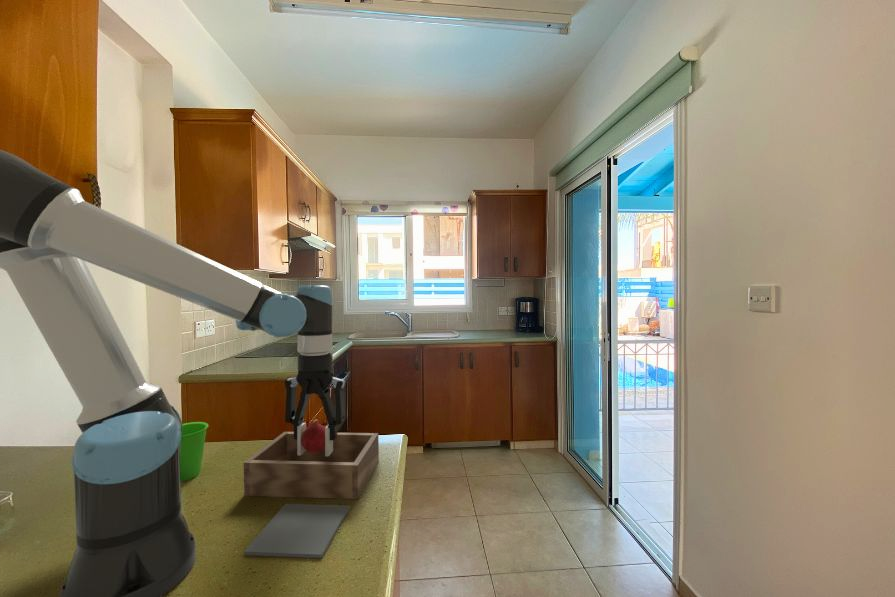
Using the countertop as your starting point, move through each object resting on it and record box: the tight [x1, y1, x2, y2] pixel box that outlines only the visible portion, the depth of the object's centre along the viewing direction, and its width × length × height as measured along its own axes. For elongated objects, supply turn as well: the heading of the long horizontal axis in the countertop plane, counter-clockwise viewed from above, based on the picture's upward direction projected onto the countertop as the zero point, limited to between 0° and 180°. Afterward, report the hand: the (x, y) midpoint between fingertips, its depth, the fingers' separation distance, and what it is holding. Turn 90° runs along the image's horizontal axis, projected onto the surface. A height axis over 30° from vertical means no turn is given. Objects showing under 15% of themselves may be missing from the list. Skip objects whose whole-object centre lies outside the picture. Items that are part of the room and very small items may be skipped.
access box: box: [243, 431, 380, 500], centre depth 82 cm, size 24×16×7 cm
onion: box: [302, 418, 326, 455], centre depth 82 cm, size 6×6×8 cm
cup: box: [180, 421, 209, 482], centre depth 83 cm, size 9×9×11 cm
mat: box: [243, 503, 350, 559], centre depth 64 cm, size 13×13×1 cm
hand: (315, 452), depth 82 cm, fingers closed on onion, 6 cm apart
